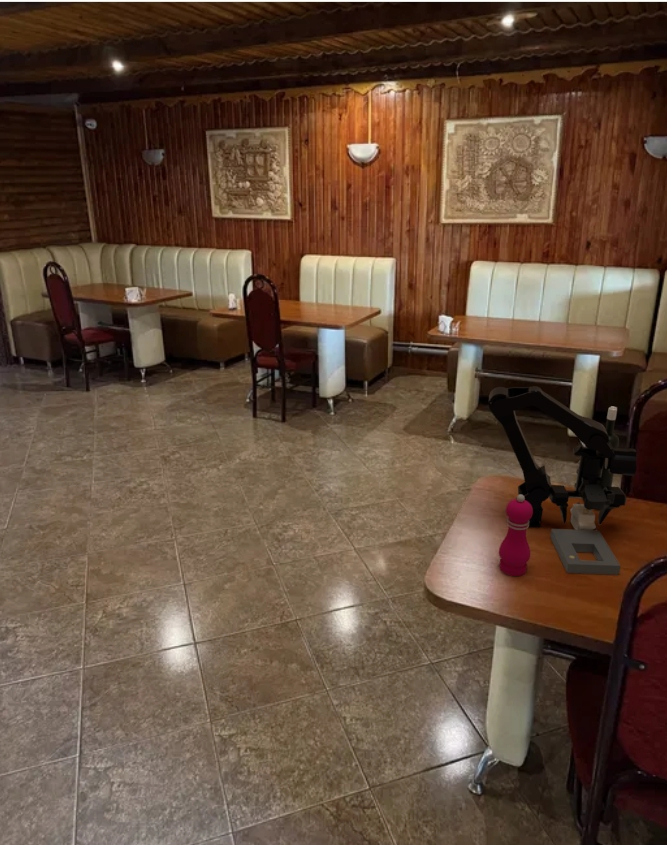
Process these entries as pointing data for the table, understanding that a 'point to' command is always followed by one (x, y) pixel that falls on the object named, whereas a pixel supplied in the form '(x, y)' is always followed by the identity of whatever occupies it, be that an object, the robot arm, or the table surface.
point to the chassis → (584, 541)
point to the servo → (582, 517)
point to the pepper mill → (516, 538)
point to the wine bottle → (614, 441)
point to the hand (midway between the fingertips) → (581, 523)
